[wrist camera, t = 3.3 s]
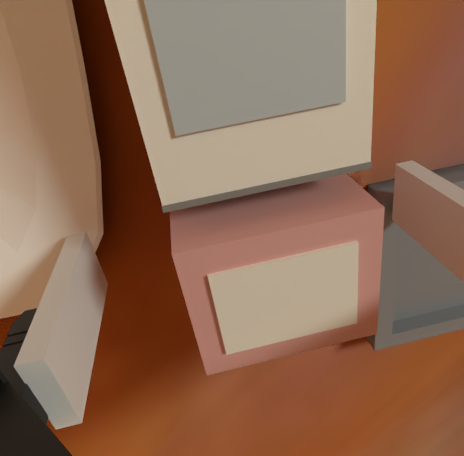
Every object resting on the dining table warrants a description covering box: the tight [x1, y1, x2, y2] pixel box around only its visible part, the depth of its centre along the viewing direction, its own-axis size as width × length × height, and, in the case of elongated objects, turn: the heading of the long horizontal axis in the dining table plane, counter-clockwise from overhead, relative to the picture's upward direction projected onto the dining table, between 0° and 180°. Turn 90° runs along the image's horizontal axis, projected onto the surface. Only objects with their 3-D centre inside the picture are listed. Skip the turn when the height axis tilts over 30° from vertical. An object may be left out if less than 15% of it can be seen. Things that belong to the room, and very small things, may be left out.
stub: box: [170, 174, 385, 375], centre depth 15 cm, size 5×6×7 cm
